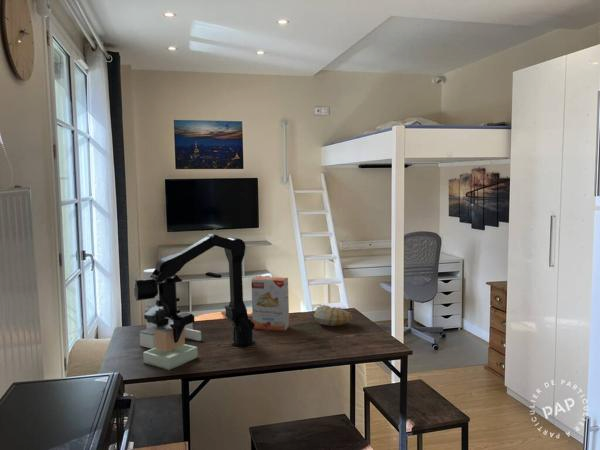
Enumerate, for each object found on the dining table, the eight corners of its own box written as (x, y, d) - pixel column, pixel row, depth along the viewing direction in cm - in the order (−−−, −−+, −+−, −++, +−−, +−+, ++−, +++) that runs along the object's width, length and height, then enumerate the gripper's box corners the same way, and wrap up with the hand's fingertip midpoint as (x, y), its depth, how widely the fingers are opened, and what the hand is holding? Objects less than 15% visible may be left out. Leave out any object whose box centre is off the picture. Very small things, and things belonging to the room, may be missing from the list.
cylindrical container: (167, 327, 194) (164, 268, 192) (160, 333, 187) (157, 271, 184) (151, 327, 195) (147, 268, 192) (143, 333, 188) (140, 272, 185)
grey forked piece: (140, 345, 173) (139, 331, 173) (180, 330, 190) (180, 317, 190) (169, 353, 165) (169, 338, 164) (209, 336, 182) (209, 323, 181)
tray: (197, 357, 161) (197, 347, 160) (169, 370, 150) (168, 359, 150) (172, 350, 167) (171, 340, 167) (143, 362, 157) (143, 352, 157)
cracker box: (252, 329, 189) (250, 278, 187) (257, 324, 195) (256, 275, 193) (284, 331, 185) (283, 280, 183) (289, 327, 191) (288, 276, 189)
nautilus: (305, 319, 203) (337, 317, 207) (321, 331, 183) (356, 328, 187) (305, 301, 203) (337, 299, 207) (321, 311, 182) (356, 309, 187)
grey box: (185, 344, 160) (184, 324, 160) (166, 351, 154) (165, 330, 153) (173, 341, 163) (172, 321, 162) (155, 348, 156) (154, 328, 156)
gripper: (129, 298, 155) (132, 343, 156) (168, 305, 145) (171, 353, 146) (156, 291, 164) (158, 334, 166) (194, 297, 154) (196, 342, 156)
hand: (170, 341), depth 158 cm, fingers closed on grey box, 5 cm apart
